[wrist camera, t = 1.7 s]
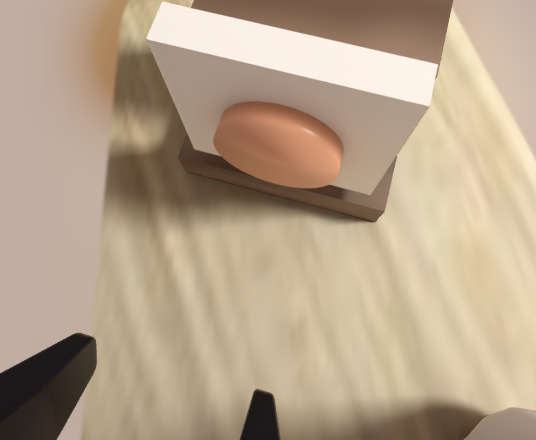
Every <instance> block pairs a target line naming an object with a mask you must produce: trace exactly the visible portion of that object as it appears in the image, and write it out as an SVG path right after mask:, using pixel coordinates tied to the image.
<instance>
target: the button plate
mask: <svg viewBox="0 0 536 440" xmlns="http://www.w3.org/2000/svg"><path fill="white" fill-rule="evenodd" d="M146 40H147V42H148V45H149V47H150V49H151V51H152V54H153V56H154V58H155V61H156V63H157V65H158V67H159V70H160V72H161V74H162V77H163V79H164V81H165V83H166V86H167V88H168V90H169V93H170V95H171V97H172V99H173V102H174V104H175V106H176V109H177V111H178V113H179V115H180V118H181V120H182V122H183V125H184V127H185V129H186V131H187V134H188V136H189V138H190V141H191V143H192V145H193V147H194V149H195V150H199V151H203V152H207V153H211V154H214V155H218V156H222V157H223V158H224V159H225V160H226V161H227V162H229V163H230V164H232V165H233V166H235V167H236V168H238V169H240V170H241V171H243V172H245V173H247V174H249V175H252V176H254V177H256V178H259V179H262V180H265V181H268V182H271V183H274V184H279V185H283V186H288V187H295V188H319V187H324V186H327V185H333V186H337V187H341V188H344V189H348V190H352V191H356V192H360V193H364V194H367V195H371V193H372V192H373V190H374V189H375V187H376V186H377V184H378V183H379V181H380V180H381V178H382V177H383V175H384V174H385V172H386V171H387V169H388V168H389V166H390V165H391V163H392V162H393V160H394V159H395V157H396V156H397V154H398V153H399V151H400V150H401V148H402V147H403V145H404V144H405V142H406V141H407V139H408V138H409V136H410V135H411V133H412V132H413V130H414V129H415V127H416V126H417V124H418V123H419V121H420V120H421V118H422V117H423V115H424V114H425V112H426V111H427V109H428V108H429V106H430V101H431V96H432V92H433V87H434V82H435V77H436V72H437V68H438V64H434V63H430V62H426V61H421V60H417V59H412V58H408V57H404V56H399V55H395V54H390V53H386V52H382V51H377V50H373V49H368V48H364V47H360V46H355V45H351V44H346V43H342V42H338V41H333V40H329V39H324V38H320V37H316V36H311V35H307V34H303V33H298V32H294V31H289V30H285V29H281V28H276V27H272V26H267V25H263V24H259V23H254V22H250V21H245V20H241V19H237V18H232V17H228V16H223V15H219V14H215V13H210V12H206V11H201V10H197V9H193V8H188V7H184V6H180V5H175V4H171V3H166V2H162V3H161V6H160V8H159V10H158V13H157V15H156V17H155V20H154V22H153V24H152V27H151V29H150V31H149V33H148V36H147V38H146Z"/></svg>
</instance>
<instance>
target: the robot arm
mask: <svg viewBox="0 0 536 440" xmlns="http://www.w3.org/2000/svg"><path fill="white" fill-rule="evenodd" d="M96 365H97V350H96V340H95V338H94V337H92V336H89V335H85V334H82V333H76V334H73V335H71V336H69V337H67V338H65V339H63V340H62V341H60V342H58V343H56V344H54V345H52V346H50V347H49V348H47V349H45V350H43V351H41V352H39V353H37V354H36V355H34V356H32V357H30V358H28V359H26V360H24V361H23V362H21V363H19V364H17V365H15V366H13V367H11V368H9V369H8V370H6V371H4V372H2V373H0V440H57V438H58V436H59V435H60V433H61V431H62V429H63V427H64V426H65V424H66V422H67V420H68V418H69V417H70V415H71V413H72V411H73V410H74V408H75V406H76V404H77V402H78V400H79V399H80V397H81V395H82V393H83V392H84V390H85V388H86V386H87V384H88V383H89V381H90V379H91V377H92V375H93V373H94V371H95V369H96ZM240 440H281V438H280V432H279V425H278V419H277V412H276V406H275V399H274V396H273V394H272V393H269V392H266V391H263V390H259V389H256V390H255V391H254V393H253V396H252V400H251V403H250V406H249V410H248V413H247V416H246V420H245V423H244V426H243V430H242V433H241V436H240Z"/></svg>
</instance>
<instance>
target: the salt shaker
mask: <svg viewBox="0 0 536 440" xmlns="http://www.w3.org/2000/svg"><path fill="white" fill-rule="evenodd" d="M463 440H536V411H533V410H527V409H522V408H508V409H505V410H503V411H500V412H497V413H495V414H492V415H490V416H487V417H485V418H483V419H482V420H481V421H480V423H479V424H478V425H477V426H476V427H475V428H474V429H473V430H472V431H471V433H470V434H469V435H468V436H467V437H466V438H464V439H463Z"/></svg>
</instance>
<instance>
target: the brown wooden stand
mask: <svg viewBox="0 0 536 440" xmlns="http://www.w3.org/2000/svg"><path fill="white" fill-rule="evenodd" d="M452 3H453V0H194V2H193V4H192V7H191V8H193V9H197V10H201V11H206V12H210V13H215V14H219V15H223V16H228V17H232V18H237V19H241V20H245V21H250V22H254V23H259V24H263V25H267V26H272V27H276V28H281V29H285V30H289V31H294V32H298V33H303V34H307V35H311V36H316V37H320V38H324V39H329V40H333V41H338V42H342V43H346V44H351V45H355V46H360V47H364V48H368V49H373V50H377V51H382V52H386V53H390V54H395V55H399V56H404V57H408V58H412V59H417V60H421V61H426V62H430V63H434V64H438V68H437V72H436V77H437V75H438V70H439V66H440V61H441V56H442V51H443V46H444V42H445V37H446V32H447V27H448V22H449V17H450V13H451V8H452ZM436 77H435V79H436ZM396 158H397V156H396V157H395V159H394V160H393V162H392V163H391V165H390V166H389V168H388V169H387V171H386V172H385V174H384V175H383V177H382V178H381V180H380V181H379V183H378V184H377V186H376V187H375V189H374V190H373V192H372V193H371V195H367V194H364V193H360V192H356V191H352V190H348V189H344V188H341V187H337V186H333V185H327V186H324V187H319V188H295V187H288V186H283V185H279V184H274V183H271V182H268V181H265V180H262V179H259V178H256V177H254V176H252V175H249V174H247V173H245V172H243V171H241V170H240V169H238V168H236V167H235V166H233V165H232V164H230V163H229V162H227V161H226V160H225V159H224V158H223V157H222V156H218V155H214V154H211V153H207V152H203V151H199V150H195V149H194V147H193V145H192V143H191V141H190V138H189V136H188V134H187V136H186V138H185V141H184V144H183V146H182V149H181V152H180V154H179V159H180V161H181V163H182V164H183V166H184V168H185V170H186V172H190V173H193V174H197V175H201V176H205V177H208V178H212V179H216V180H220V181H223V182H227V183H231V184H235V185H238V186H242V187H246V188H250V189H253V190H257V191H261V192H265V193H268V194H272V195H276V196H280V197H283V198H287V199H291V200H295V201H298V202H302V203H306V204H309V205H313V206H317V207H321V208H324V209H328V210H332V211H336V212H339V213H343V214H347V215H351V216H354V217H358V218H362V219H366V220H369V221H373V222H376V221H377V220H378V218H379V217H380V216H381V215H382V214H383V213H384V211H385V207H386V202H387V198H388V194H389V189H390V185H391V180H392V176H393V171H394V167H395V162H396Z"/></svg>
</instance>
